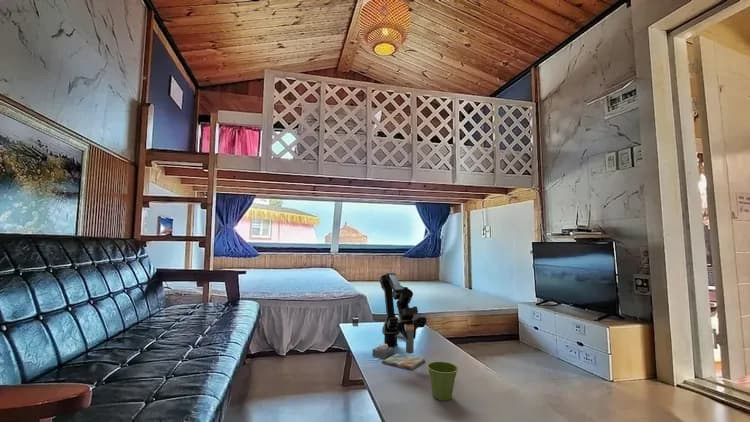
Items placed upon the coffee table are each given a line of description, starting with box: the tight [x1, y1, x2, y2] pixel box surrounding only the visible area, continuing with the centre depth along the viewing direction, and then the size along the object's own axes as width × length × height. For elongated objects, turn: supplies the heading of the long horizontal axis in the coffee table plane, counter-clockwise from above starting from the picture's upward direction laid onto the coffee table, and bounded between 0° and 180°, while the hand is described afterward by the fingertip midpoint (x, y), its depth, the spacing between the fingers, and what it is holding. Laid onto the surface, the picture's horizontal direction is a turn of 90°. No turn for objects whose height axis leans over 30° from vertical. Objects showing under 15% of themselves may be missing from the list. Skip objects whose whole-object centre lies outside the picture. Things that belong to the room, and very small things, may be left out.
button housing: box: [372, 346, 395, 359], centre depth 187 cm, size 8×8×3 cm
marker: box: [405, 324, 415, 354], centre depth 172 cm, size 4×4×12 cm
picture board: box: [381, 353, 426, 371], centre depth 176 cm, size 16×14×1 cm
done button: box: [378, 343, 388, 351], centre depth 187 cm, size 4×4×3 cm
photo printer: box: [395, 314, 406, 339], centre depth 223 cm, size 10×4×12 cm, turn 39°
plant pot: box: [426, 361, 459, 402], centre depth 139 cm, size 12×12×11 cm
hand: (410, 338), depth 171 cm, fingers closed on marker, 4 cm apart
